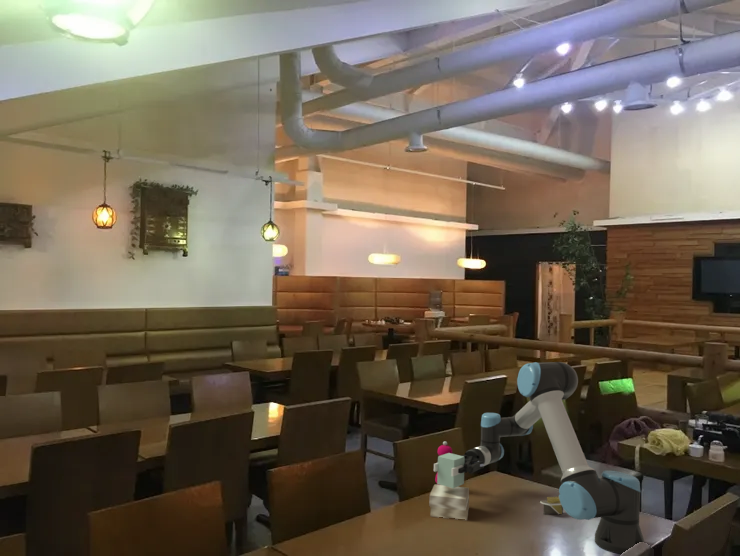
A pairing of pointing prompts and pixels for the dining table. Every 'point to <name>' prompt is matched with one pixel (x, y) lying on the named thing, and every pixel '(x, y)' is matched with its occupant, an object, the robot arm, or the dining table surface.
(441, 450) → the pepper mill
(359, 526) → the dining table surface
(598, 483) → the robot arm
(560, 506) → the platform
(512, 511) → the dining table surface
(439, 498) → the top block
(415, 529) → the dining table surface
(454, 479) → the sage block
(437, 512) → the bottom block
